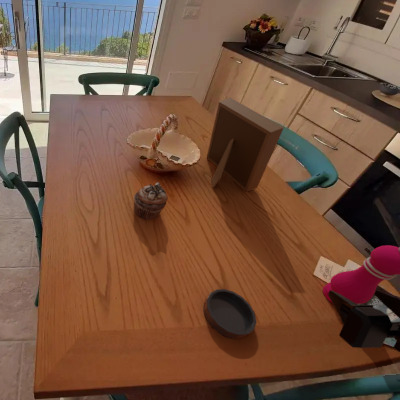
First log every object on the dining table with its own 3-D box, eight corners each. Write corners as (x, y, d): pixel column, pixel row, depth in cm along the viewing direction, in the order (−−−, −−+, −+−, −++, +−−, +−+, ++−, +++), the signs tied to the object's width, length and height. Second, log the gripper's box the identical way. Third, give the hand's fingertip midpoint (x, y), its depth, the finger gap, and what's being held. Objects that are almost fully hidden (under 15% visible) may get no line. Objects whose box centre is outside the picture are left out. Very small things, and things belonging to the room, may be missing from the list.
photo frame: (214, 156, 110) (242, 96, 93) (255, 189, 95) (298, 125, 78) (184, 162, 106) (208, 100, 89) (222, 197, 91) (259, 131, 74)
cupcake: (150, 197, 89) (157, 173, 83) (168, 217, 83) (177, 193, 76) (125, 204, 86) (131, 180, 79) (142, 225, 80) (149, 201, 73)
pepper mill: (313, 284, 68) (376, 234, 54) (338, 282, 69) (406, 232, 55) (335, 312, 63) (412, 264, 49) (362, 310, 64) (445, 262, 50)
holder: (260, 325, 60) (266, 321, 58) (229, 347, 56) (234, 343, 54) (224, 287, 66) (228, 282, 64) (193, 305, 62) (197, 300, 61)
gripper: (574, 320, 33) (418, 254, 48) (436, 322, 32) (319, 254, 47) (523, 384, 37) (392, 305, 51) (396, 388, 36) (300, 306, 50)
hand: (352, 292), depth 50 cm, fingers open, 9 cm apart
